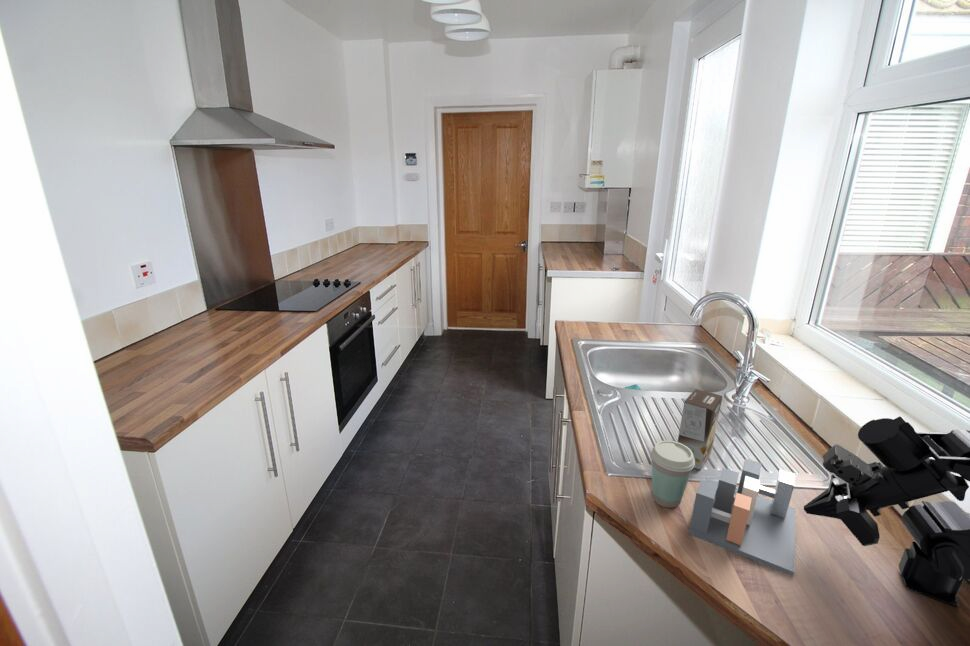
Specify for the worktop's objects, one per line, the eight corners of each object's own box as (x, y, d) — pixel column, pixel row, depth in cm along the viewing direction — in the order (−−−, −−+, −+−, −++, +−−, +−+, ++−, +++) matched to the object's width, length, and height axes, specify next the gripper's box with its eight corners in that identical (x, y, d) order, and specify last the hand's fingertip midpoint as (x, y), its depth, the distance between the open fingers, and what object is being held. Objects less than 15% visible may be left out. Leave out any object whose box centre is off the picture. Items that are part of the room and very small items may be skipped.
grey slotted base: (794, 512, 92) (805, 474, 89) (792, 576, 78) (805, 534, 74) (704, 481, 101) (711, 446, 98) (688, 534, 87) (695, 494, 83)
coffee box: (701, 471, 104) (713, 410, 99) (673, 460, 108) (683, 401, 103) (712, 452, 111) (723, 395, 106) (685, 443, 115) (694, 387, 110)
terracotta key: (743, 531, 85) (751, 497, 83) (741, 545, 82) (749, 510, 80) (703, 516, 89) (710, 483, 86) (700, 529, 86) (706, 495, 83)
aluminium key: (785, 506, 92) (794, 474, 89) (785, 518, 89) (794, 485, 86) (747, 493, 95) (754, 461, 93) (745, 504, 92) (752, 472, 90)
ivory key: (752, 513, 90) (760, 480, 87) (750, 525, 87) (758, 491, 84) (713, 499, 94) (720, 467, 91) (710, 511, 91) (717, 478, 88)
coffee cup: (688, 517, 91) (697, 467, 87) (644, 506, 94) (651, 458, 90) (686, 490, 98) (694, 443, 94) (645, 481, 101) (652, 435, 97)
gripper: (860, 416, 81) (777, 449, 91) (871, 471, 67) (771, 502, 77) (905, 468, 80) (816, 495, 89) (926, 535, 65) (817, 559, 75)
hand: (805, 510), depth 83 cm, fingers closed
